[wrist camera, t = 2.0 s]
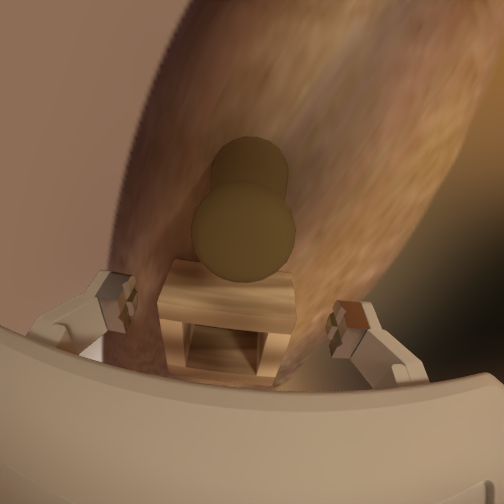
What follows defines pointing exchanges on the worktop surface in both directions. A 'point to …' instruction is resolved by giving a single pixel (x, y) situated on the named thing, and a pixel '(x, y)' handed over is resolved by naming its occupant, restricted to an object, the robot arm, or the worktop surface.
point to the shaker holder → (225, 324)
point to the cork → (245, 213)
